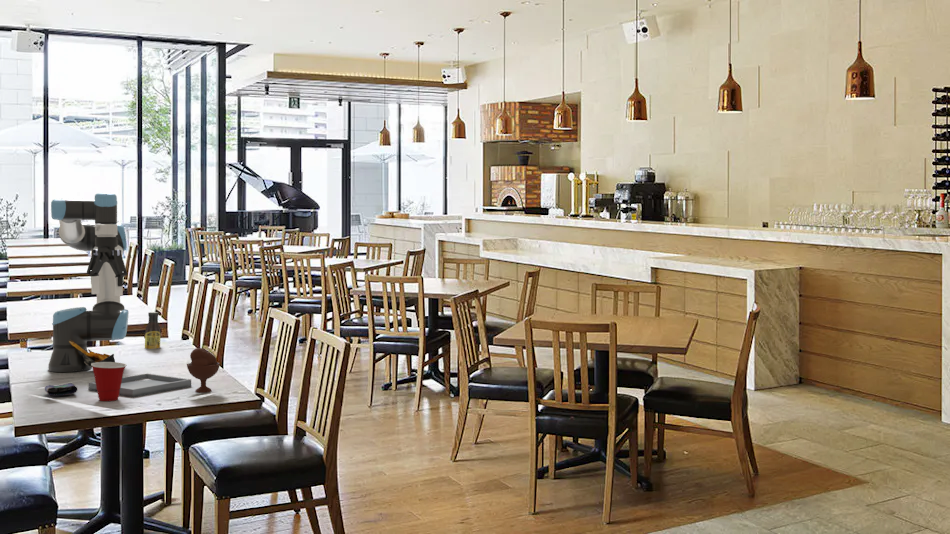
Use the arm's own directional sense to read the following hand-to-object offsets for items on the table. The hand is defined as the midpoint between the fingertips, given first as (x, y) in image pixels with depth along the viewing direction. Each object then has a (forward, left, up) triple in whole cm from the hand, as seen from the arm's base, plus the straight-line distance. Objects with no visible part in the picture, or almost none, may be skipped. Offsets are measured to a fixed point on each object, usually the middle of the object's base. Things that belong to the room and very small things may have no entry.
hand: (107, 294), depth 321 cm
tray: (+21, -2, -32) cm, 38 cm away
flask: (+13, -26, -33) cm, 44 cm away
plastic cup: (+30, -21, -32) cm, 49 cm away
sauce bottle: (-36, +47, -32) cm, 67 cm away
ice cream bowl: (+44, +6, -32) cm, 55 cm away
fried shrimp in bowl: (-12, +8, -31) cm, 34 cm away
